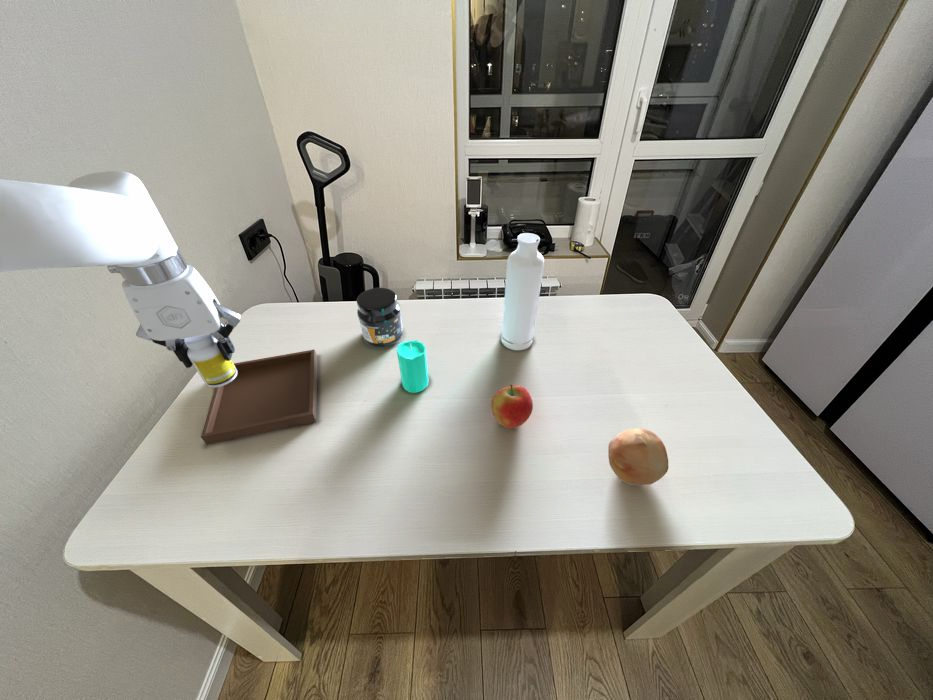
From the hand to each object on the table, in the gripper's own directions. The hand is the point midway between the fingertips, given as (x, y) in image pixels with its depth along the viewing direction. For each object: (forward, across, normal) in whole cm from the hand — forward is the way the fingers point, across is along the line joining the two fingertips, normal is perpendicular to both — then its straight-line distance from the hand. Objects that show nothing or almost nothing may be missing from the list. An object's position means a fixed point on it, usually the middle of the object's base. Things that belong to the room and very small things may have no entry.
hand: (210, 358), depth 66 cm
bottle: (+18, +63, +10) cm, 66 cm away
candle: (+18, +35, +2) cm, 39 cm away
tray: (+18, +3, +6) cm, 19 cm away
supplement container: (+18, +30, +20) cm, 41 cm away
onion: (+18, +69, -32) cm, 78 cm away
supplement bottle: (+5, 0, 0) cm, 5 cm away
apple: (+18, +52, -14) cm, 57 cm away
